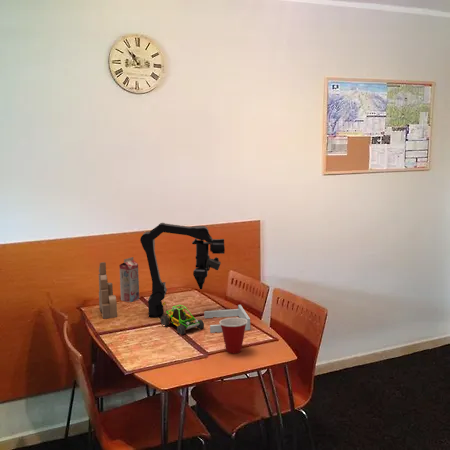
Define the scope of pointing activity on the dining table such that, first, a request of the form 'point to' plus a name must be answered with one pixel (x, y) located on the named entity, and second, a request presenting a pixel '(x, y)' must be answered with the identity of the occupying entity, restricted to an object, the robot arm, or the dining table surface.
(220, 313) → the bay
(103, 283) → the wooden toy
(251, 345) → the dining table surface
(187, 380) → the dining table surface
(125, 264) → the milk carton
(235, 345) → the plastic cup
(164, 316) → the motor vehicle
